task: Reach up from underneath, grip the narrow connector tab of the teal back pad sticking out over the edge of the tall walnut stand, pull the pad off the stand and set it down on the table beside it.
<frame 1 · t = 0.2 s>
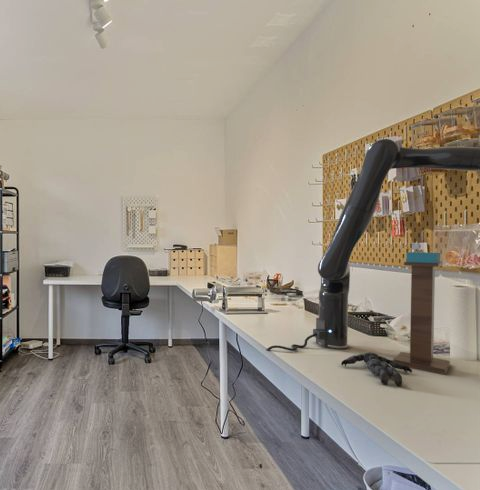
stand: (421, 364, 113), on the table
dark grey jointed piece: (377, 373, 106), on the table
back pad: (423, 262, 113), point 32 cm above the table, touching stand
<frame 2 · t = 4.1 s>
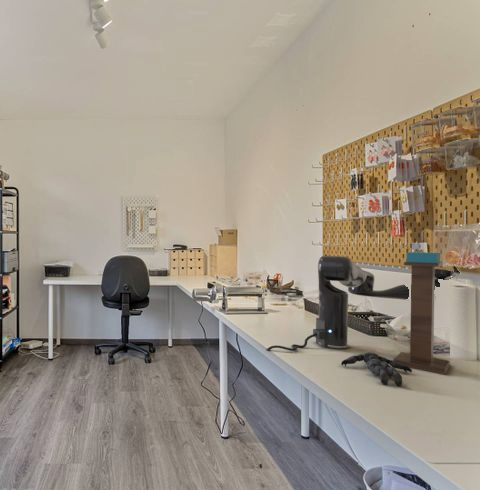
hand: (438, 264, 132), 31 cm above the table, tool pointing upward, fingers open, 8 cm apart
nothing on the table moved.
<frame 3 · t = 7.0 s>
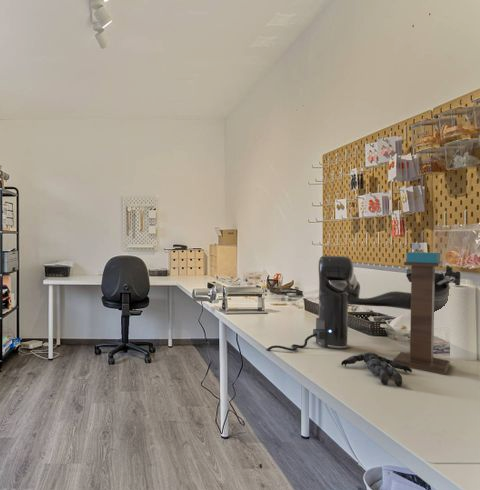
hand: (430, 267, 124), 30 cm above the table, tool pointing upward, fingers open, 8 cm apart
nothing on the table moved.
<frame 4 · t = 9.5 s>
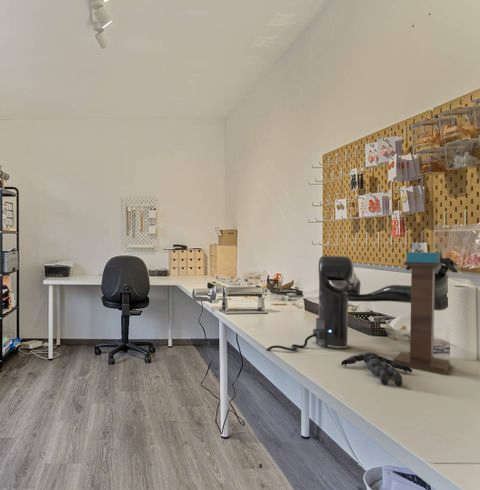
hand: (427, 254, 119), 35 cm above the table, tool pointing upward, fingers closed on back pad, 4 cm apart
back pad: (423, 262, 113), point 32 cm above the table, touching gripper, stand
everything else where it was.
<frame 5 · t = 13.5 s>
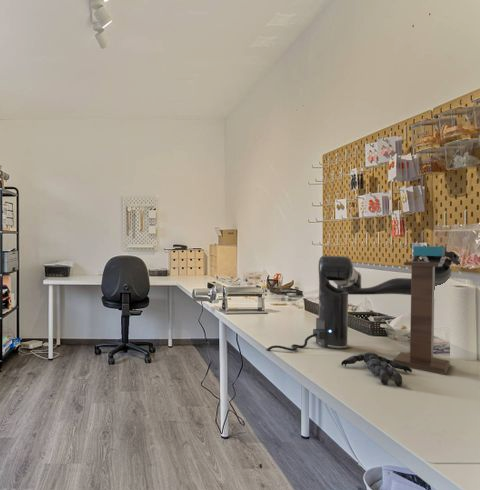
hand: (432, 247, 126), 37 cm above the table, tool pointing upward, fingers closed on back pad, 4 cm apart
back pad: (429, 255, 121), point 34 cm above the table, touching gripper
everything else where it was.
when the fingers open (22 cm above the table, at t = 17.3 s): back pad drops 20 cm, on the table.
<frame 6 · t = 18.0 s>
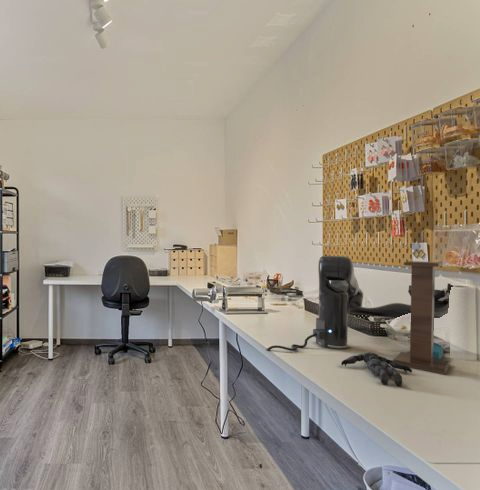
hand: (432, 284, 127), 24 cm above the table, tool pointing upward, fingers open, 8 cm apart
back pad: (427, 356, 121), on the table
everything else where it was.
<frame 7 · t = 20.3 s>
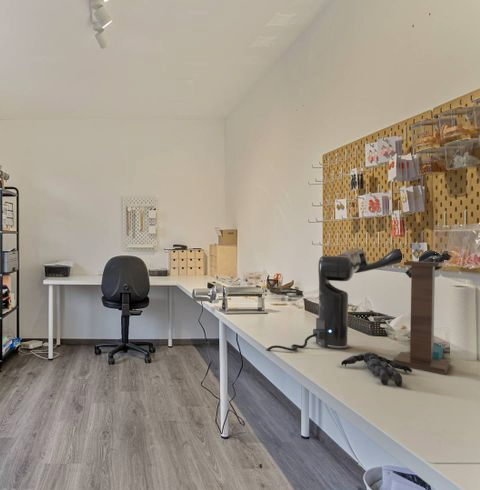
hand: (423, 269, 131), 29 cm above the table, tool horizontal, fingers open, 8 cm apart
nothing on the table moved.
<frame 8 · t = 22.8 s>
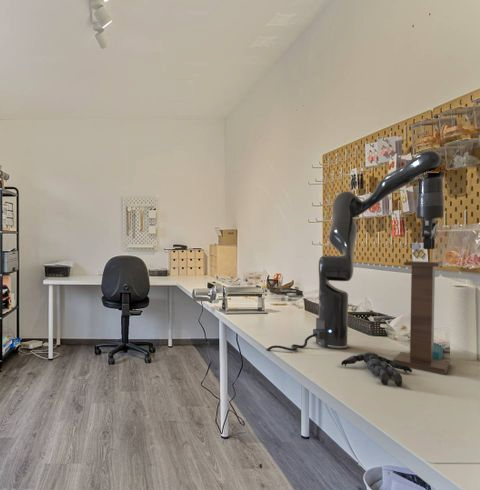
hand: (429, 249, 134), 36 cm above the table, tool pointing down, fingers open, 8 cm apart
nothing on the table moved.
at the end: back pad touching table; back pad on the table; the gripper is holding nothing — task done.
